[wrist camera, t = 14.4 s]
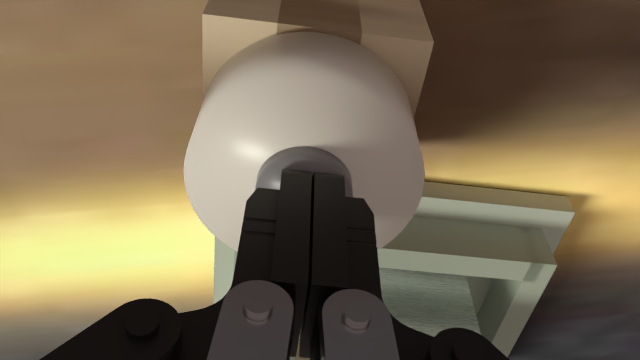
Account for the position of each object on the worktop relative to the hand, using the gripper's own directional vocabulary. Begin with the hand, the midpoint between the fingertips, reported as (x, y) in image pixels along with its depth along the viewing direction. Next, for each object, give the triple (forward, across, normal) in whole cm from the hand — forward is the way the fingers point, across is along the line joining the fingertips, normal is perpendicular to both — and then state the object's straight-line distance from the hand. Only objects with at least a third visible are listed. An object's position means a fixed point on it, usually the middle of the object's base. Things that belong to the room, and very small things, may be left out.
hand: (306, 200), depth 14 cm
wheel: (+7, 0, 0) cm, 7 cm away
